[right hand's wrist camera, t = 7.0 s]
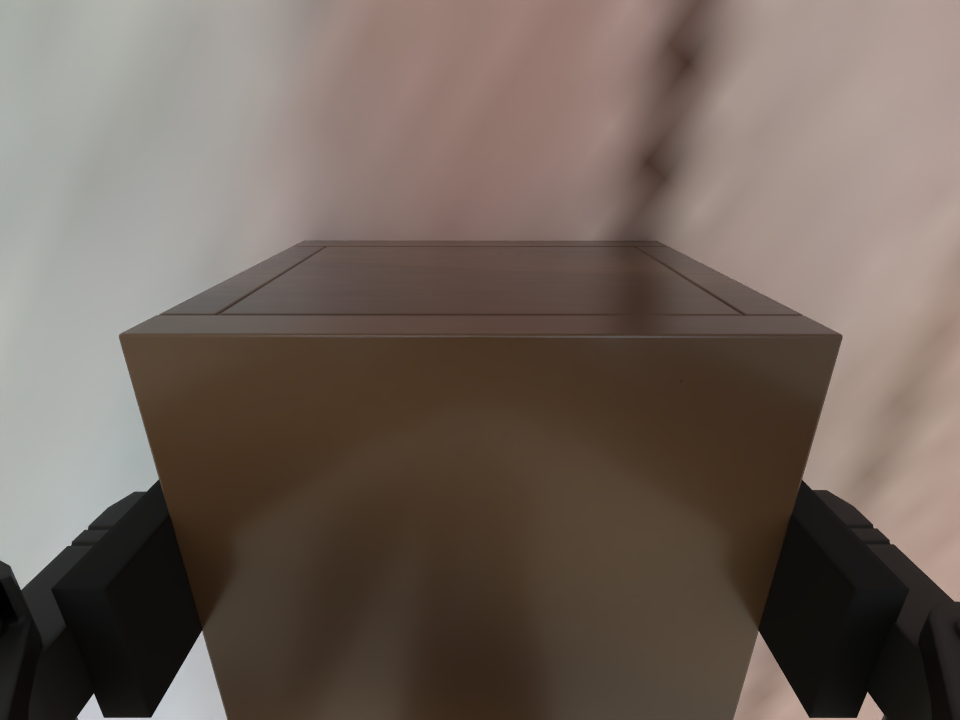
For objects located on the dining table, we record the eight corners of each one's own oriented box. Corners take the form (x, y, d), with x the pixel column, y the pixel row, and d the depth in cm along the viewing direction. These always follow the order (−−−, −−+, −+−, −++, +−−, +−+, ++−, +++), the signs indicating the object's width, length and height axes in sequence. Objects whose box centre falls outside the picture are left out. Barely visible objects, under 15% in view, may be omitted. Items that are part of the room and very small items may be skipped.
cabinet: (607, 632, 21) (679, 909, 13) (352, 632, 21) (280, 908, 13) (658, 240, 15) (845, 334, 7) (302, 240, 15) (116, 333, 7)
